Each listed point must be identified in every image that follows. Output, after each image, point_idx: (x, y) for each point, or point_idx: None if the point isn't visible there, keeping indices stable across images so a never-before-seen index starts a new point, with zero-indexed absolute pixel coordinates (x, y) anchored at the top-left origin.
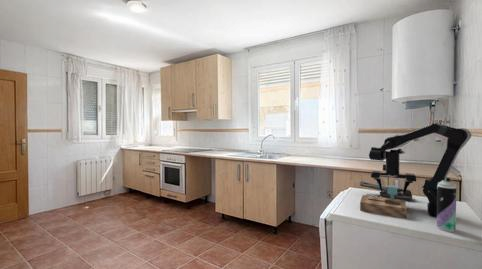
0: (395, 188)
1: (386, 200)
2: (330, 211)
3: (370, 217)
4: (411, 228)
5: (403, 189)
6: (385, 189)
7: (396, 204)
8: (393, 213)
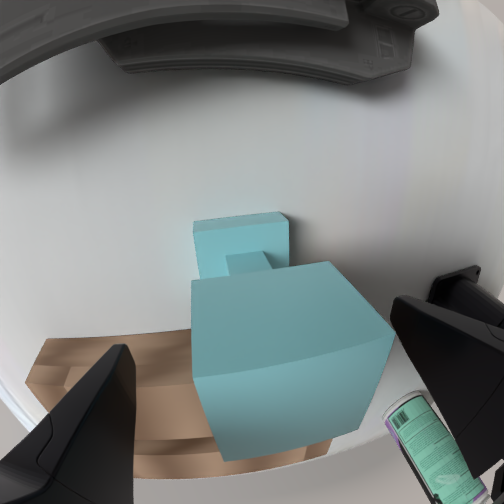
0: (333, 429)
1: None
2: None
3: None
4: (308, 459)
5: (426, 360)
6: (137, 14)
7: None
8: None
